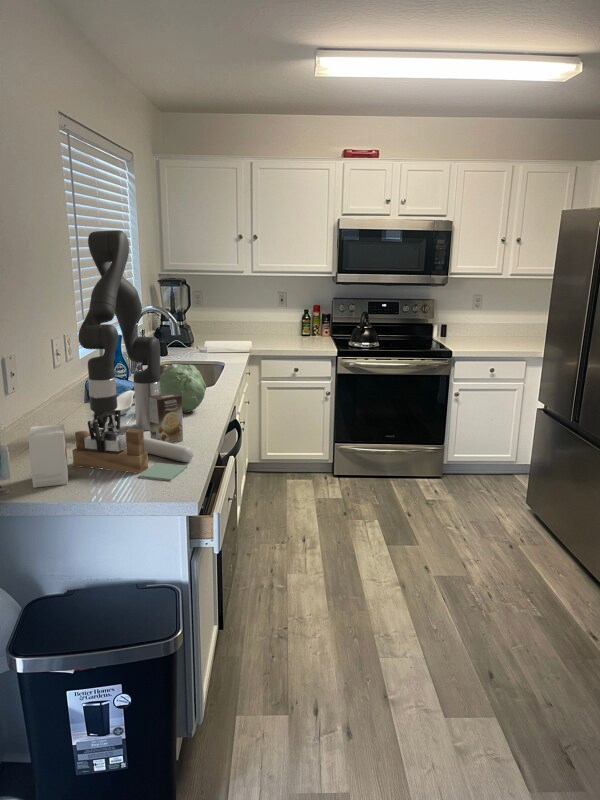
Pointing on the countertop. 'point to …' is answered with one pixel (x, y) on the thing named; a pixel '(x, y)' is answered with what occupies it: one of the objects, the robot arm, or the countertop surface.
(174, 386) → the cabbage
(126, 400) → the spoon rest
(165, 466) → the mat
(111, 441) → the lever cap
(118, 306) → the robot arm
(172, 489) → the countertop surface
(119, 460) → the body
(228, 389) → the countertop surface
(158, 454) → the tube
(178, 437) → the coffee box
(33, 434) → the supplement box
